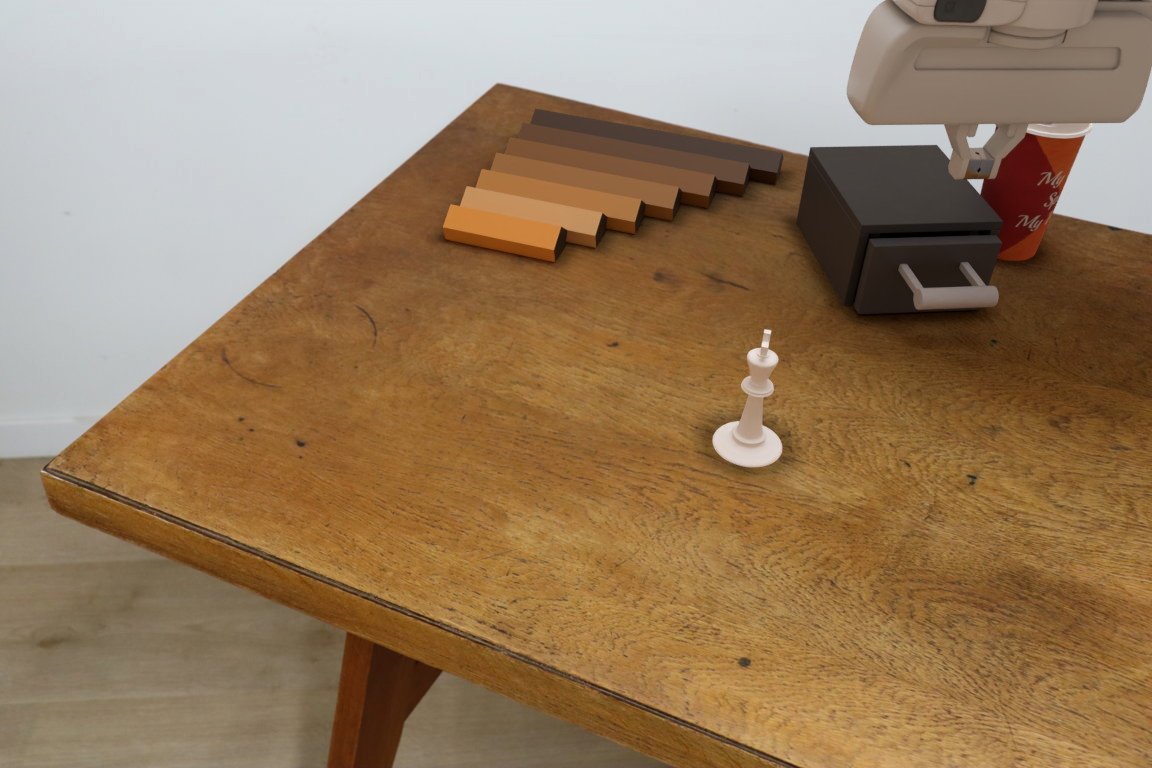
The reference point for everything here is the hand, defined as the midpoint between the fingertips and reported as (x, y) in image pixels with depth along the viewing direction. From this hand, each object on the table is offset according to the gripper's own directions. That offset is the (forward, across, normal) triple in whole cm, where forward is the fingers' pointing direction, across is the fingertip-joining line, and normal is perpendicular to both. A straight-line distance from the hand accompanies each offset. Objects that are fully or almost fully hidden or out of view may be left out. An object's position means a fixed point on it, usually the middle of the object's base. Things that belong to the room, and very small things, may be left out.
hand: (970, 176), depth 80 cm
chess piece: (+14, +18, +12) cm, 26 cm away
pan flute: (+14, +21, -22) cm, 33 cm away
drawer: (+13, 0, -6) cm, 14 cm away
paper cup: (+14, -12, -12) cm, 23 cm away
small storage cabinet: (+14, 0, -10) cm, 18 cm away
